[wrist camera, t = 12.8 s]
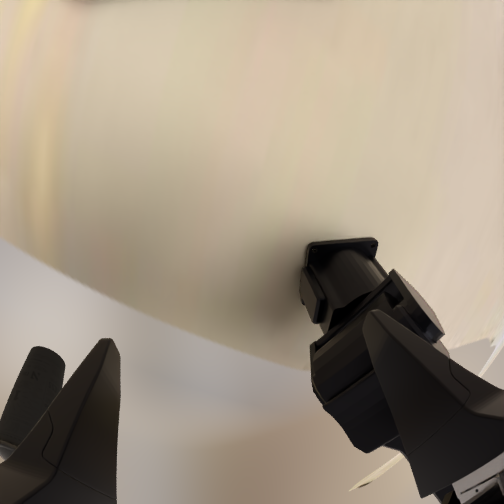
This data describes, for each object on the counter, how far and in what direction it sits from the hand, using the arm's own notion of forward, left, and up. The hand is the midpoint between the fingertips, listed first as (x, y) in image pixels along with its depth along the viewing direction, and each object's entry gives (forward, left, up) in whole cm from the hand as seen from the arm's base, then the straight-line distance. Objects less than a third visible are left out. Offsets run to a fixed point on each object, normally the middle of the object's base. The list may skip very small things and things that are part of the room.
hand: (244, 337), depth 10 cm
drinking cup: (+22, +18, -13) cm, 31 cm away
